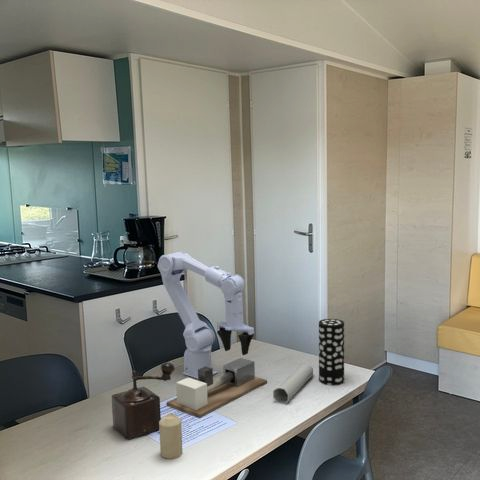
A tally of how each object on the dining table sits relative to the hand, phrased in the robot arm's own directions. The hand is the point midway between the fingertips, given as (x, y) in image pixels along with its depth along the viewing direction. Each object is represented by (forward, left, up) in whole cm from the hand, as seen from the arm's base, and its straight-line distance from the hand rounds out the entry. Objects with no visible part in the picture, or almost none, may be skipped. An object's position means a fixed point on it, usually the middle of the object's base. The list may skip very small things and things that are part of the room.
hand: (236, 352), depth 183 cm
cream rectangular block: (+1, -23, -10) cm, 25 cm away
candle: (+16, -45, -11) cm, 49 cm away
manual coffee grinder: (-1, -39, -11) cm, 40 cm away
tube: (+18, +8, -11) cm, 23 cm away
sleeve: (+1, -1, -10) cm, 10 cm away
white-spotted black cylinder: (+24, +20, -11) cm, 33 cm away
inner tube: (+1, -14, -8) cm, 16 cm away
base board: (+1, -11, -10) cm, 15 cm away
